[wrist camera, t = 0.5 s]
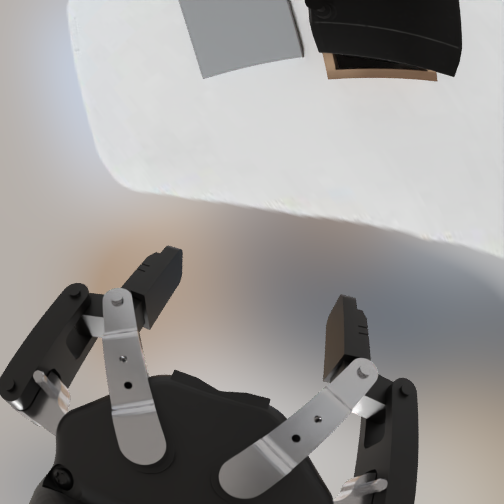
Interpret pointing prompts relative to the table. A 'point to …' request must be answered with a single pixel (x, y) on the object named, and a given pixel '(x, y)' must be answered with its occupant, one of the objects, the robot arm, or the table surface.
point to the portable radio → (390, 31)
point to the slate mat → (240, 33)
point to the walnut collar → (374, 71)
